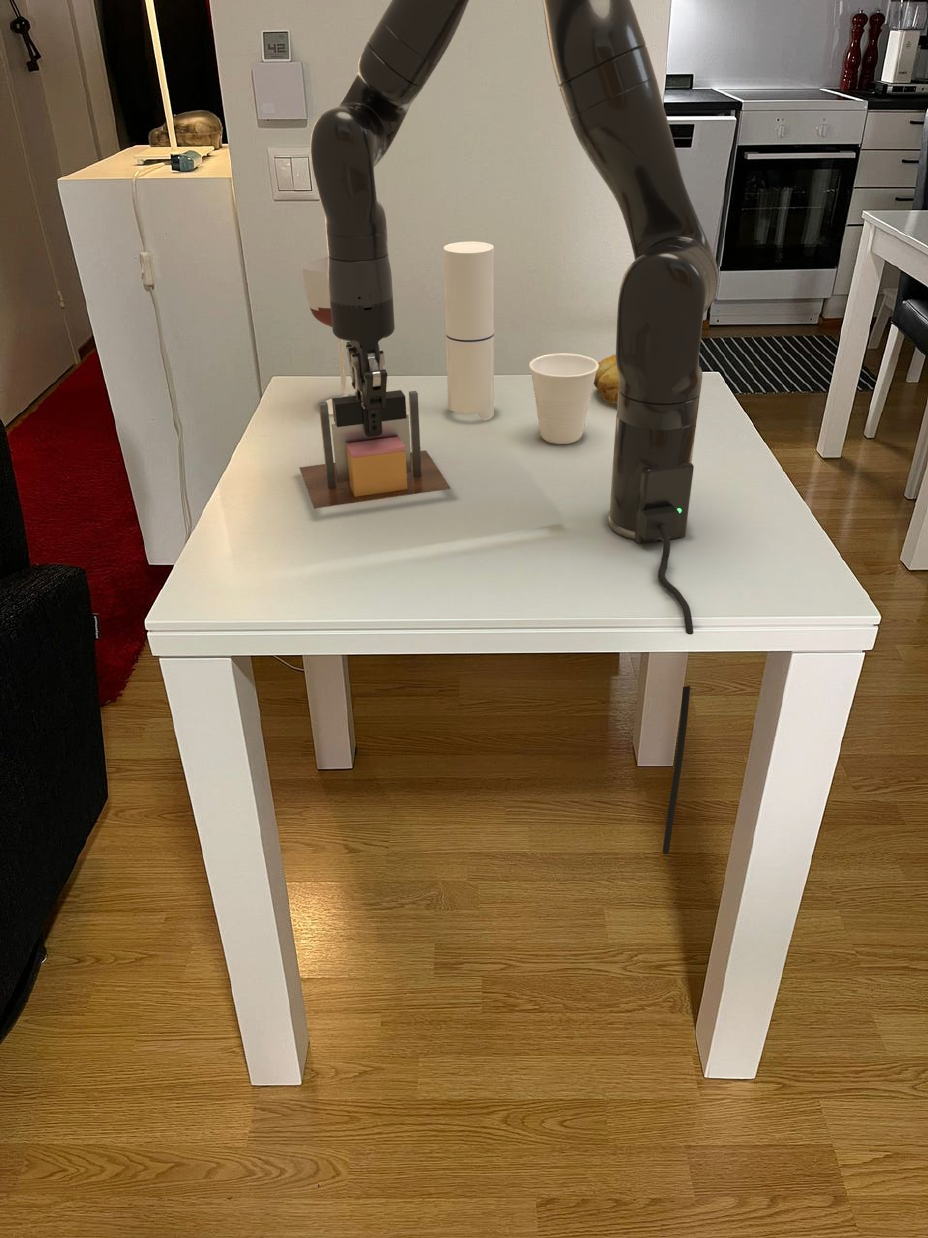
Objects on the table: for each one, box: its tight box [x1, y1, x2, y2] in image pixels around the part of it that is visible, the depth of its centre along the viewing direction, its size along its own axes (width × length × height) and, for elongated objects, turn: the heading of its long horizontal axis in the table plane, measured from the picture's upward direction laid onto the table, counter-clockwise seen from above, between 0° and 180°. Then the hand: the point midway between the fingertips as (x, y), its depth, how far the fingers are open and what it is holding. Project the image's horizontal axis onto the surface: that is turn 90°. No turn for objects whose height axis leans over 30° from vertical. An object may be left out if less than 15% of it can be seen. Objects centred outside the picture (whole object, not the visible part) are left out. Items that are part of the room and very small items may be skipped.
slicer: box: [298, 390, 452, 509], centre depth 126 cm, size 13×18×13 cm
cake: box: [346, 437, 407, 497], centre depth 128 cm, size 10×7×6 cm
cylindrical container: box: [443, 241, 495, 422], centre depth 145 cm, size 7×7×25 cm
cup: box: [528, 352, 599, 445], centre depth 140 cm, size 10×10×11 cm
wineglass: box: [300, 256, 349, 416], centre depth 149 cm, size 9×10×22 cm
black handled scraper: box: [330, 389, 411, 482], centre depth 125 cm, size 2×10×11 cm, turn 106°
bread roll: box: [593, 354, 619, 404], centre depth 153 cm, size 13×10×8 cm
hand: (371, 430), depth 125 cm, fingers closed on black handled scraper, 2 cm apart
